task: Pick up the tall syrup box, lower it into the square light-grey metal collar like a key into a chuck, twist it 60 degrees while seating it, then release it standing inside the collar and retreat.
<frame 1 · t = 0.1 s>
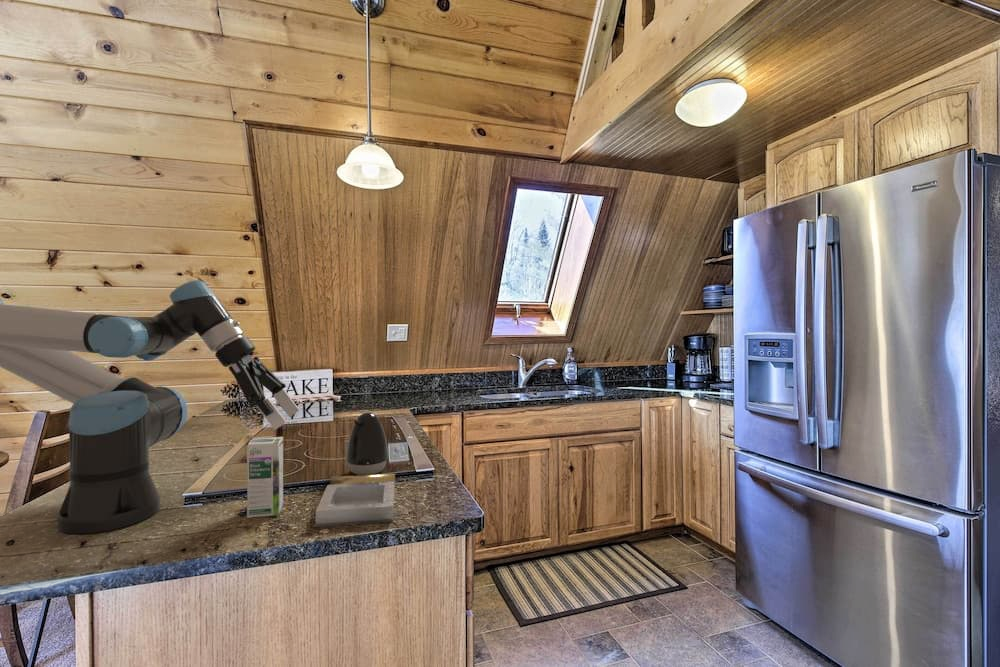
hand: (288, 419, 109), 15 cm above the worktop, tool tilted 35°, fingers open, 13 cm apart
black egg shape: (367, 473, 119), on the worktop
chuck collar: (358, 509, 96), on the worktop
brass rod: (363, 488, 108), on the worktop
syrup box: (265, 512, 95), on the worktop
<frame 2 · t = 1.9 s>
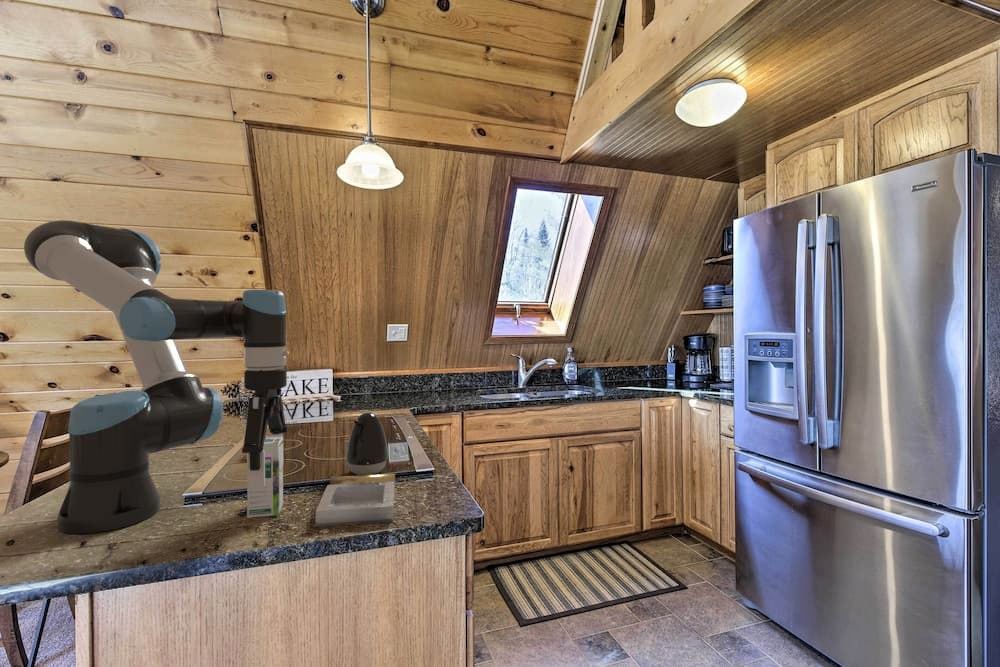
hand: (267, 474, 94), 7 cm above the worktop, tool pointing down, fingers open, 13 cm apart
nothing on the worktop moved.
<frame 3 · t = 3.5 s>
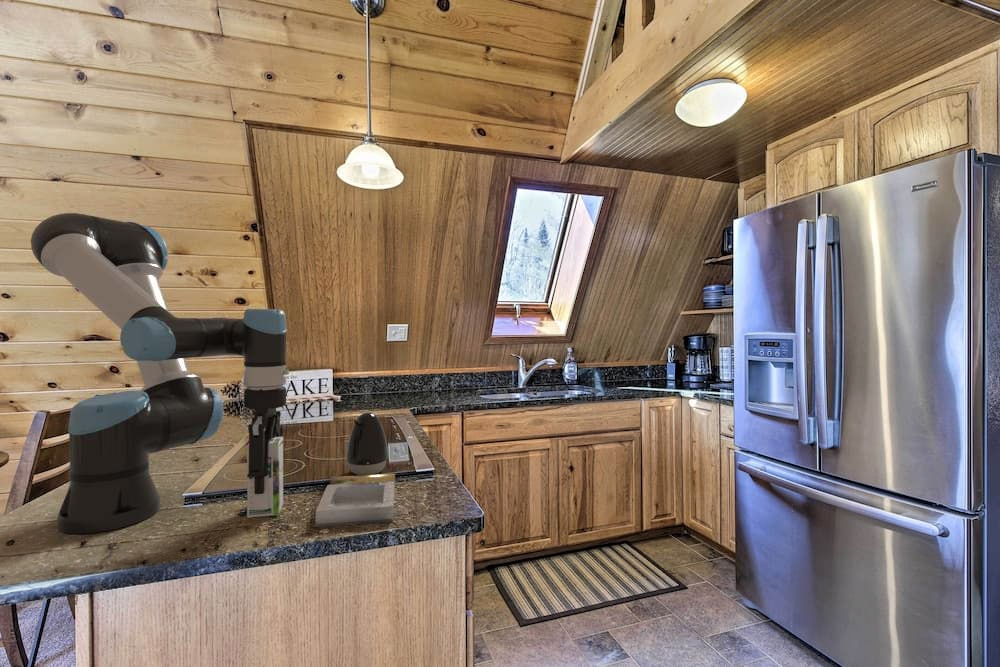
hand: (265, 502, 95), 2 cm above the worktop, tool pointing down, fingers closed on syrup box, 6 cm apart
syrup box: (265, 512, 95), on the worktop, touching gripper
everything else where it was.
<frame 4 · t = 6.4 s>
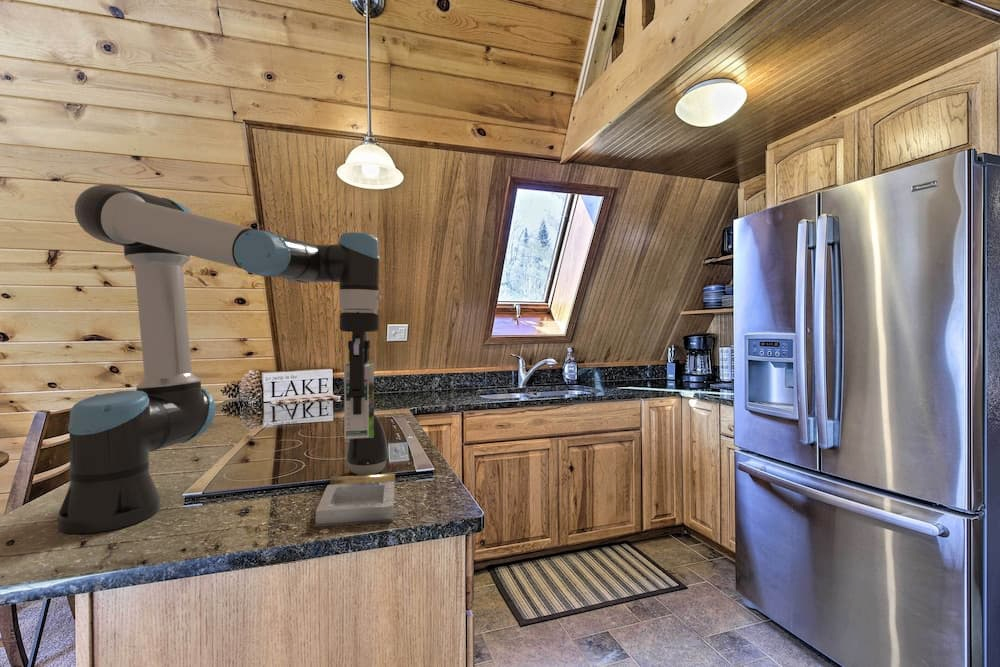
hand: (359, 426, 96), 17 cm above the worktop, tool pointing down, fingers closed on syrup box, 6 cm apart
syrup box: (359, 436, 96), point 15 cm above the worktop, touching gripper
everything else where it was.
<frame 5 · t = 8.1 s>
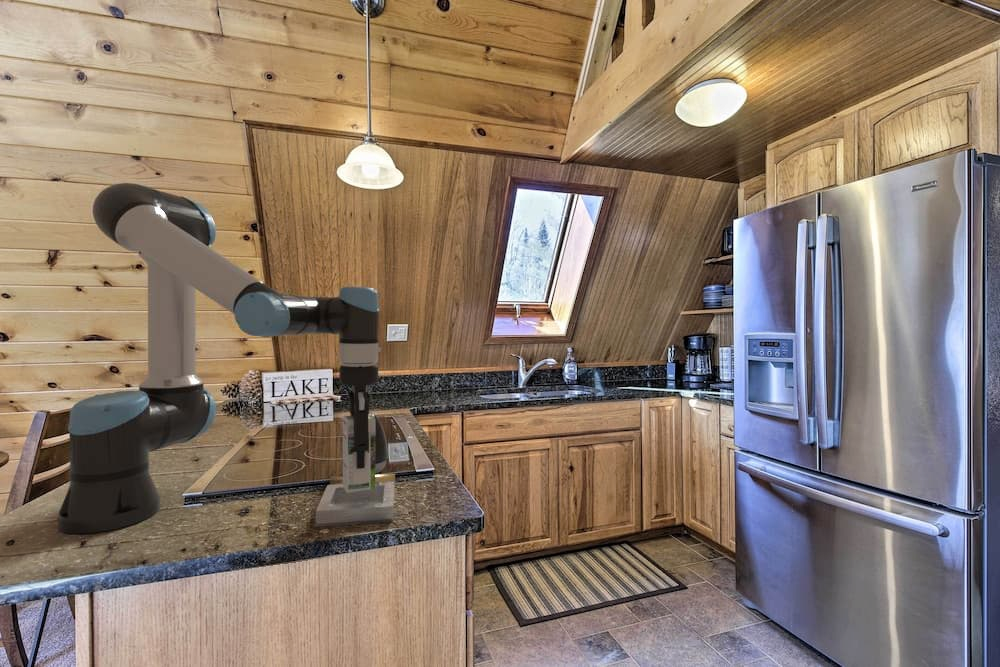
hand: (358, 477, 96), 7 cm above the worktop, tool pointing down, fingers closed on syrup box, 6 cm apart
syrup box: (358, 487, 96), point 4 cm above the worktop, touching gripper
everything else where it was.
when the fingers open (4 cm above the worktop, at t = 9.3 s): syrup box drops 2 cm, resting on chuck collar.
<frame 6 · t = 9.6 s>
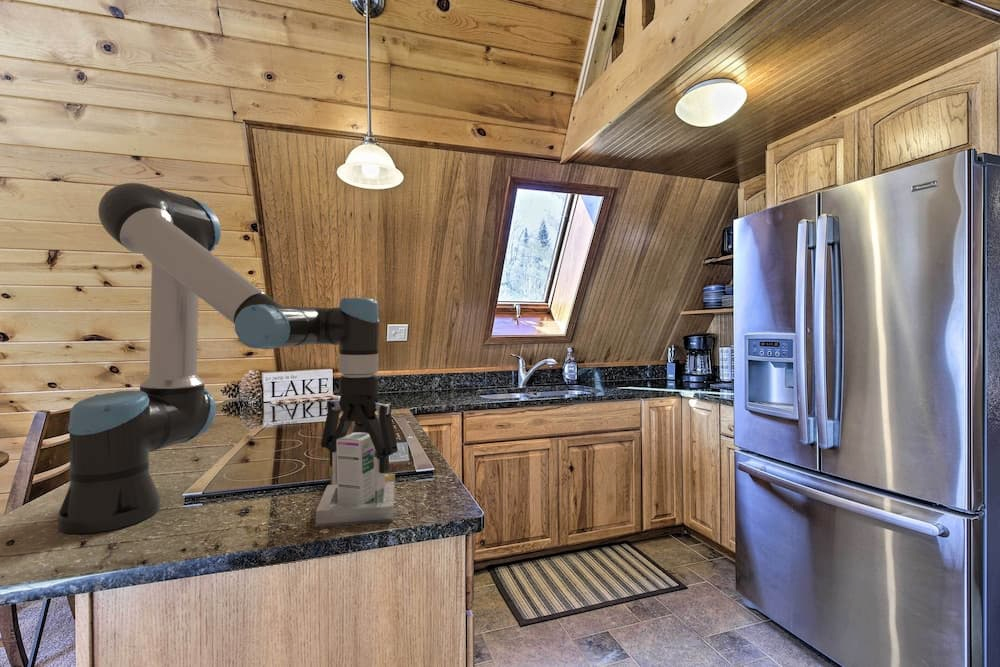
hand: (358, 485, 96), 5 cm above the worktop, tool pointing down, fingers open, 9 cm apart
syrup box: (357, 507, 97), resting on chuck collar
everything else where it was.
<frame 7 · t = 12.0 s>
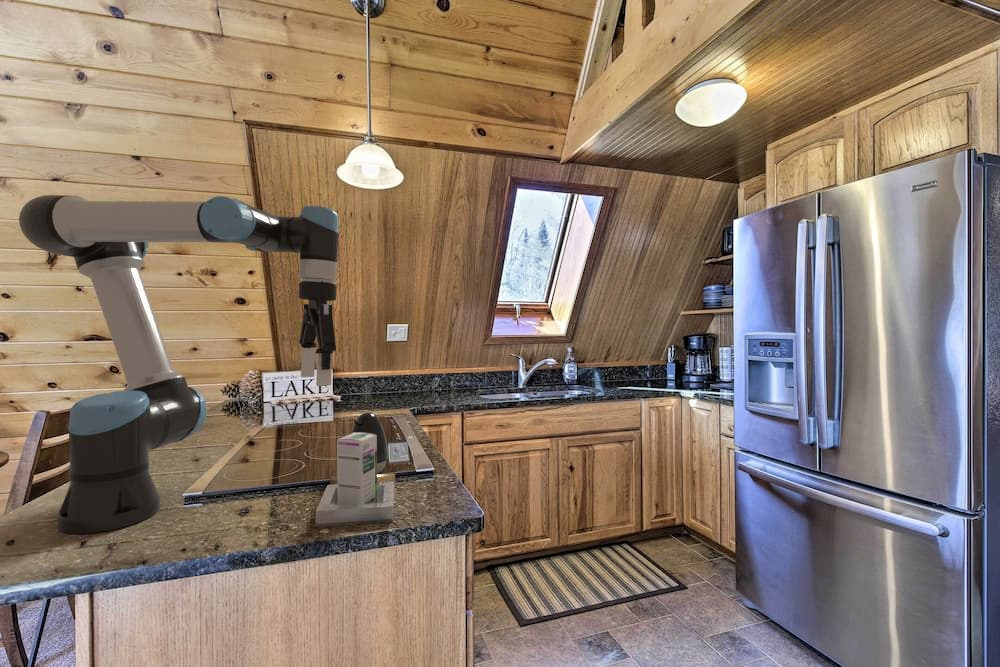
hand: (315, 381, 102), 25 cm above the worktop, tool pointing down, fingers open, 13 cm apart
nothing on the worktop moved.
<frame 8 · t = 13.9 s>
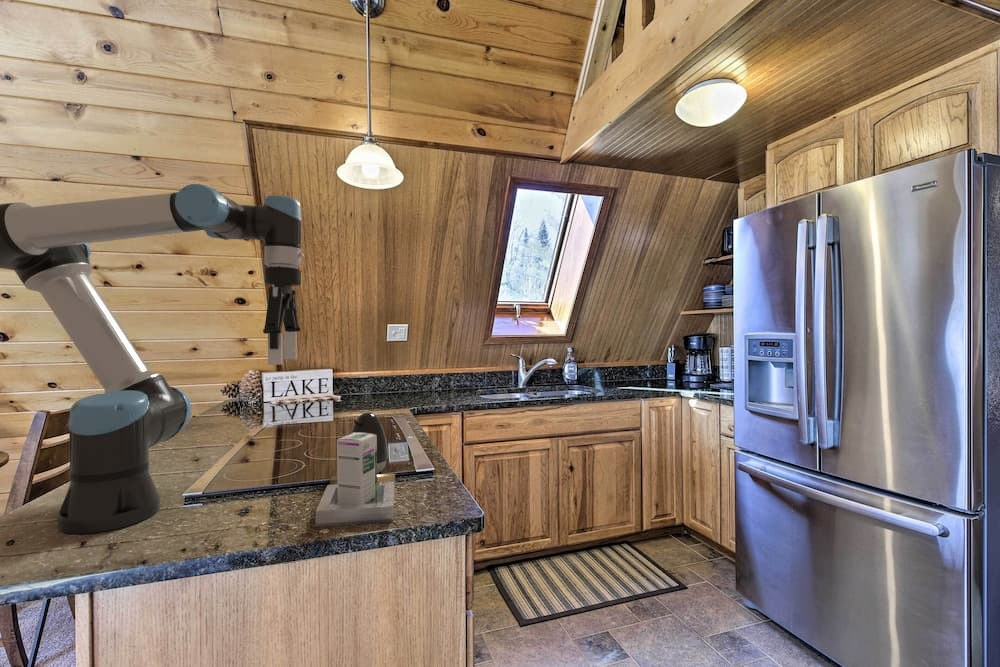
hand: (283, 361, 108), 29 cm above the worktop, tool pointing down, fingers open, 13 cm apart
nothing on the worktop moved.
at the end: syrup box 0.3 cm off-centre on the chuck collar, point 0.4 cm above the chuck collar's base; syrup box tilted 0°; the gripper is holding nothing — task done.
